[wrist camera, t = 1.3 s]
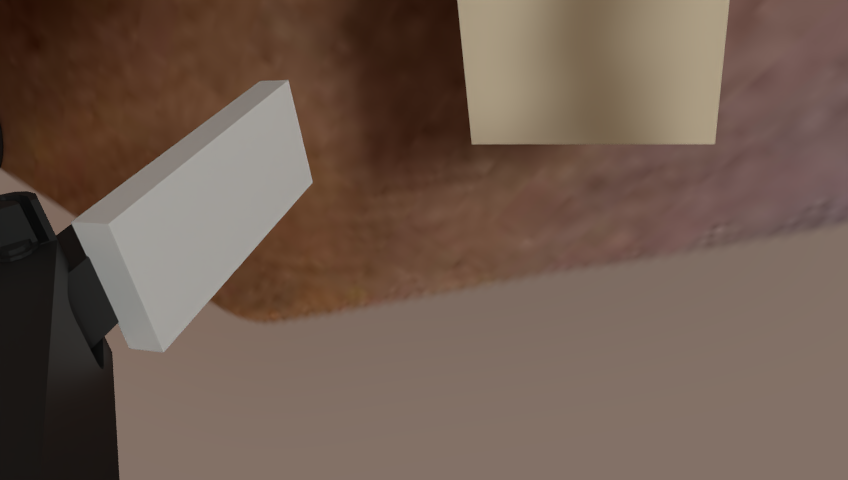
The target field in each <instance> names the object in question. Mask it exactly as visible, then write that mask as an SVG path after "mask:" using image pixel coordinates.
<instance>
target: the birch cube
mask: <svg viewBox="0 0 848 480" xmlns="http://www.w3.org/2000/svg"><path fill="white" fill-rule="evenodd" d="M457 2H458V12H459V22H460V32H461V42H462V52H463V62H464V72H465V82H466V92H467V102H468V112H469V122H470V131H471V141H472V144H715V137H716V127H717V118H718V108H719V98H720V88H721V78H722V69H723V59H724V49H725V39H726V30H727V20H728V10H729V0H457Z"/></svg>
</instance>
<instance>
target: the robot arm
mask: <svg viewBox="0 0 848 480" xmlns="http://www.w3.org/2000/svg"><path fill="white" fill-rule="evenodd" d="M2 155H3V141H2V132H1V127H0V166H1V162H2ZM312 183H313V181H312V177H311V173H310V169H309V165H308V160H307V156H306V152H305V148H304V144H303V140H302V135H301V131H300V127H299V123H298V119H297V115H296V110H295V106H294V102H293V98H292V94H291V90H290V85H289V81H288V80H277V81H259V82H258V83H257V84H255V85H254V86H253V87H251V88H250V89H249V90H247V91H246V92H245V93H243V94H242V95H241V96H239V97H238V98H237V99H235V100H234V101H233V102H231V103H230V104H229V105H227V106H226V107H225V108H223V109H222V110H221V111H219V112H218V113H217V114H215V115H214V116H213V117H211V118H210V119H209V120H207V121H206V122H204V123H203V124H202V125H200V126H199V127H198V128H196V129H195V130H194V131H192V132H191V133H190V134H188V135H187V136H186V137H184V138H183V139H182V140H180V141H179V142H178V143H176V144H175V145H174V146H172V147H171V148H170V149H168V150H167V151H166V152H164V153H163V154H162V155H160V156H159V157H158V158H156V159H155V160H154V161H152V162H151V163H150V164H148V165H147V166H146V167H144V168H143V169H141V170H140V171H139V172H137V173H136V174H135V175H133V176H132V177H131V178H129V179H128V180H127V181H125V182H124V183H123V184H121V185H120V186H119V187H117V188H116V189H115V190H113V191H112V192H111V193H109V194H108V195H107V196H105V197H104V198H103V199H101V200H100V201H99V202H97V203H96V204H95V205H93V206H92V207H91V208H89V209H88V210H87V211H85V212H84V213H82V214H81V215H80V216H78V217H77V218H76V219H74V220H73V221H72V222H71V225H70V226H68V227H67V228H66V229H65V230H63V231H62V232H60V233H59V234H58V235H55V233H54V231H53V229H52V227H51V225H50V223H49V221H48V219H47V217H46V214H45V213H44V210H43V208H42V206H41V204H40V202H39V200H38V198H37V196H36V194H35V193H31V192H12V193H7V194H2V195H0V480H119V465H118V449H117V448H118V447H117V430H116V413H115V395H114V377H113V361H112V351H111V349H110V347H109V345H108V343H107V341H106V339H105V337H104V336H105V335H106V334H107V333H108V332H109V331H110V330H111V329H112V328H113V327H114V326H115V325H116V324H117V323H118V325H119V327H120V329H121V331H122V333H123V335H124V338H125V340H126V342H127V344H128V346H129V348H130V349H138V350H147V351H156V352H164V351H165V350H166V349H167V348H168V347H169V346H170V345H171V343H172V342H173V341H174V340H175V339H176V338H177V337H178V335H179V334H180V333H181V332H182V331H183V329H185V327H186V326H187V325H188V324H189V323H190V322H191V321H192V320H193V318H194V317H195V316H196V315H197V314H198V313H199V311H200V310H201V309H202V308H203V307H204V306H205V305H206V304H207V302H208V301H209V300H210V299H211V298H212V297H213V296H214V294H215V293H216V292H217V291H218V290H219V289H220V288H221V286H222V285H223V284H224V283H225V282H226V281H227V280H228V278H229V277H230V276H231V275H232V274H233V273H234V272H235V270H236V269H237V268H238V267H239V266H240V265H241V264H242V262H243V261H244V260H245V259H246V258H247V257H248V256H249V255H250V253H251V252H252V251H253V250H254V249H255V248H256V247H257V245H258V244H259V243H260V242H261V241H262V240H263V239H264V237H265V236H266V235H267V234H268V233H269V232H270V231H271V229H272V228H273V227H274V226H275V225H276V224H277V223H278V221H279V220H280V219H281V218H282V217H283V216H284V215H285V213H286V212H287V211H288V210H289V209H290V208H291V207H292V205H293V204H294V203H295V202H296V201H297V200H298V199H299V197H300V196H301V195H302V194H303V193H304V192H305V191H306V189H307V188H308V187H309V186H310V185H311V184H312Z"/></svg>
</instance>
